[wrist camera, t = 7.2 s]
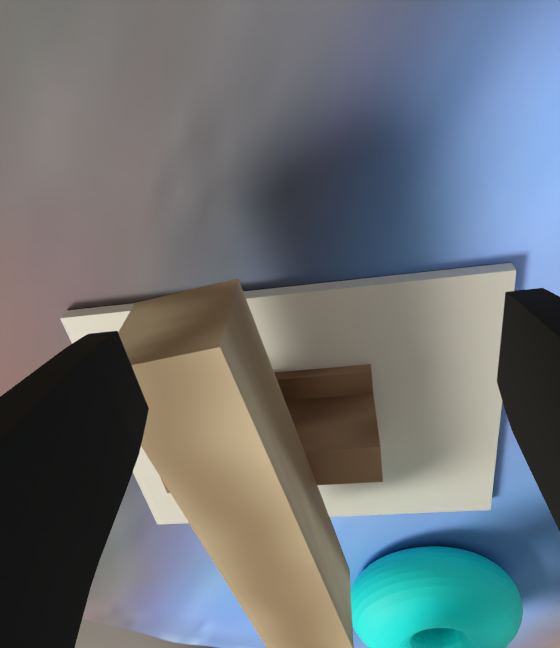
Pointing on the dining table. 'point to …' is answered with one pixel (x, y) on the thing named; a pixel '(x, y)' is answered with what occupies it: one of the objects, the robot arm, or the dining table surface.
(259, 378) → the bar
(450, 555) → the donuts
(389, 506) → the board
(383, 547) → the dining table surface
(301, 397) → the block
